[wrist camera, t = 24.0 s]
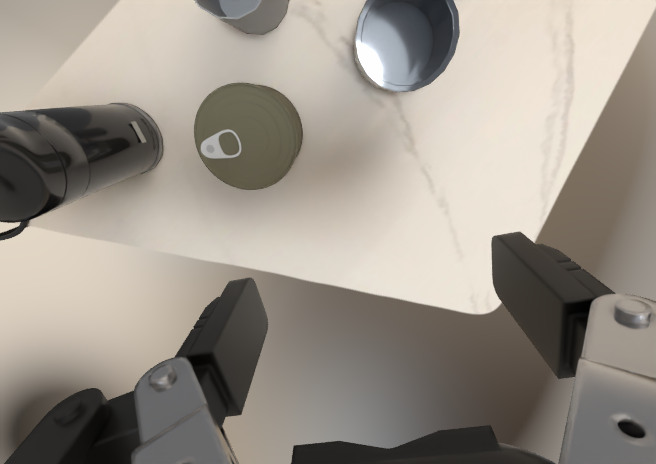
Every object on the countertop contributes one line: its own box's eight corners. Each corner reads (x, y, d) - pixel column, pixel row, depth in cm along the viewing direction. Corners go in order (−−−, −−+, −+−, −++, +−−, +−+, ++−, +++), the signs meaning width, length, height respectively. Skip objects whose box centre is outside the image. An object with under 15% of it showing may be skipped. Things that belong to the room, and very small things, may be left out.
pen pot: (362, 99, 42) (365, 102, 34) (346, 9, 38) (346, -11, 31) (440, 80, 41) (462, 79, 33) (432, -15, 37) (455, -41, 29)
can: (314, 165, 46) (309, 177, 40) (233, 184, 48) (216, 199, 41) (289, 72, 41) (279, 69, 35) (201, 97, 43) (176, 98, 37)
